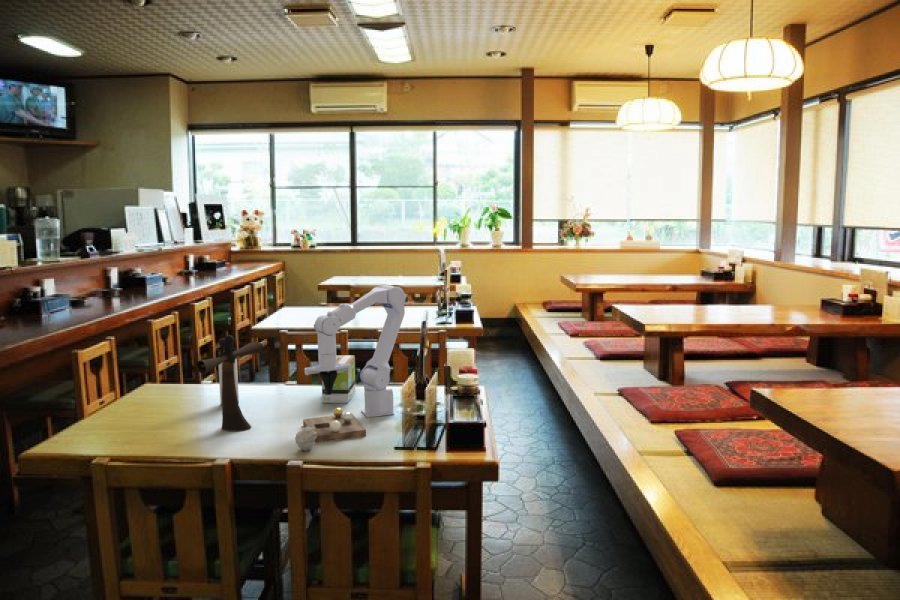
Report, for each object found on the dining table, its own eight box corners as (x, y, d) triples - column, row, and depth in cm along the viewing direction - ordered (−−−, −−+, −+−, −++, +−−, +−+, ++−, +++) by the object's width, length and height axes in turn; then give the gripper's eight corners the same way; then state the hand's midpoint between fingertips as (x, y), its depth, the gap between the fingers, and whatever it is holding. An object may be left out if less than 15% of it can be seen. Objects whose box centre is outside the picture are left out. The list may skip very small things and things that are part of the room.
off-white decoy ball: (339, 429, 204) (339, 418, 203) (342, 432, 200) (341, 421, 200) (328, 430, 202) (328, 419, 202) (331, 433, 199) (330, 423, 199)
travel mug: (243, 403, 238) (240, 348, 236) (228, 408, 233) (225, 352, 230) (231, 400, 242) (229, 347, 239) (216, 405, 236) (213, 350, 233)
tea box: (349, 403, 238) (348, 363, 236) (321, 403, 238) (320, 363, 236) (356, 392, 253) (355, 354, 251) (329, 392, 253) (328, 354, 251)
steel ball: (351, 420, 212) (351, 410, 211) (353, 423, 209) (353, 413, 208) (341, 421, 211) (341, 411, 210) (344, 424, 208) (343, 414, 207)
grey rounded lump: (308, 455, 187) (307, 431, 186) (290, 451, 191) (289, 427, 190) (323, 449, 192) (322, 425, 191) (305, 444, 196) (304, 422, 195)
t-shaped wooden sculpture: (250, 412, 228) (246, 326, 224) (275, 414, 225) (271, 327, 221) (192, 442, 198) (186, 344, 194) (220, 445, 195) (215, 345, 191)
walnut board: (351, 419, 220) (351, 413, 219) (366, 435, 203) (366, 429, 203) (303, 425, 214) (303, 419, 213) (313, 443, 197) (313, 436, 197)
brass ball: (341, 414, 218) (341, 406, 217) (343, 417, 215) (343, 408, 214) (332, 416, 216) (332, 407, 216) (334, 418, 214) (334, 409, 213)
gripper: (346, 348, 218) (348, 388, 220) (302, 352, 213) (304, 393, 215) (351, 352, 212) (353, 393, 214) (306, 356, 207) (307, 399, 209)
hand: (328, 394), depth 214 cm, fingers closed
